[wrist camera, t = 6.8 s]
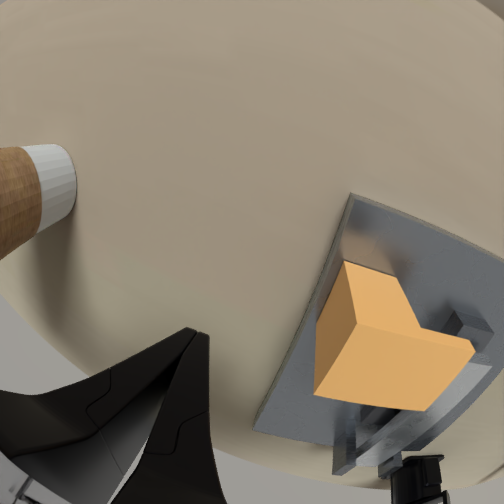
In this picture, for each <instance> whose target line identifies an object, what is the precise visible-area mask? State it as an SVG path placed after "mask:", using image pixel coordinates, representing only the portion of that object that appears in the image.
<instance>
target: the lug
mask: <svg viewBox="0 0 504 504" xmlns="http://www.w3.org/2000/svg"><path fill="white" fill-rule="evenodd" d="M475 352H476V351H475V349H474V348H473V346H472V344H471V342H470V341H469V340H467V339H463V338H459V337H455V336H451V335H447V334H443V333H439V332H435V331H432V330H428V329H424V328H421V327H420V325H419V323H418V321H417V319H416V316H415V314H414V312H413V310H412V308H411V306H410V304H409V302H408V300H407V298H406V296H405V294H404V292H403V290H402V288H401V286H400V284H399V282H398V280H397V278H396V277H393V276H390V275H387V274H384V273H381V272H378V271H374V270H371V269H368V268H365V267H362V266H359V265H356V264H353V263H350V262H346V261H344V262H343V264H342V266H341V269H340V271H339V274H338V276H337V278H336V281H335V283H334V285H333V288H332V290H331V292H330V295H329V297H328V299H327V301H326V304H325V306H324V308H323V310H322V312H321V314H320V317H319V319H318V321H317V323H316V347H315V373H314V392H313V395H317V396H322V397H326V398H331V399H337V400H342V401H347V402H353V403H359V404H366V405H372V406H379V407H387V408H396V409H405V410H416V411H425V410H426V409H427V408H428V407H429V406H430V405H431V404H432V403H433V402H434V401H435V400H436V399H437V398H438V397H439V396H440V395H441V393H442V392H443V391H444V390H445V389H446V388H447V387H448V386H449V384H450V383H451V382H452V381H453V380H454V379H455V377H456V376H457V375H458V374H459V373H460V371H461V370H462V369H463V368H464V366H465V365H466V364H467V362H468V361H469V360H470V359H471V357H472V356H473V355H474V353H475Z"/></svg>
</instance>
